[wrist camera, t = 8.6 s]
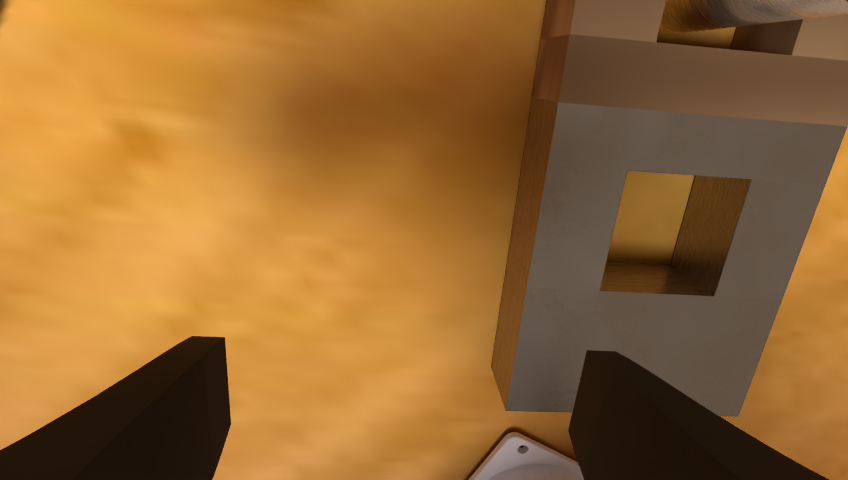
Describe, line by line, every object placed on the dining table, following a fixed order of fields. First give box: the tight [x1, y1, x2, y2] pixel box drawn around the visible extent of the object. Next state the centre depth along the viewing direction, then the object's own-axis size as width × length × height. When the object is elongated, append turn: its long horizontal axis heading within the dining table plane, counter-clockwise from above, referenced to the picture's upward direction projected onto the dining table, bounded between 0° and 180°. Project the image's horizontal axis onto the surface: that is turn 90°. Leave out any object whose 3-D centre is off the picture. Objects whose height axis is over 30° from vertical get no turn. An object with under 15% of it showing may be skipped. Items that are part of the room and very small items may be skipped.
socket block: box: [491, 97, 847, 416], centre depth 19 cm, size 12×10×3 cm
